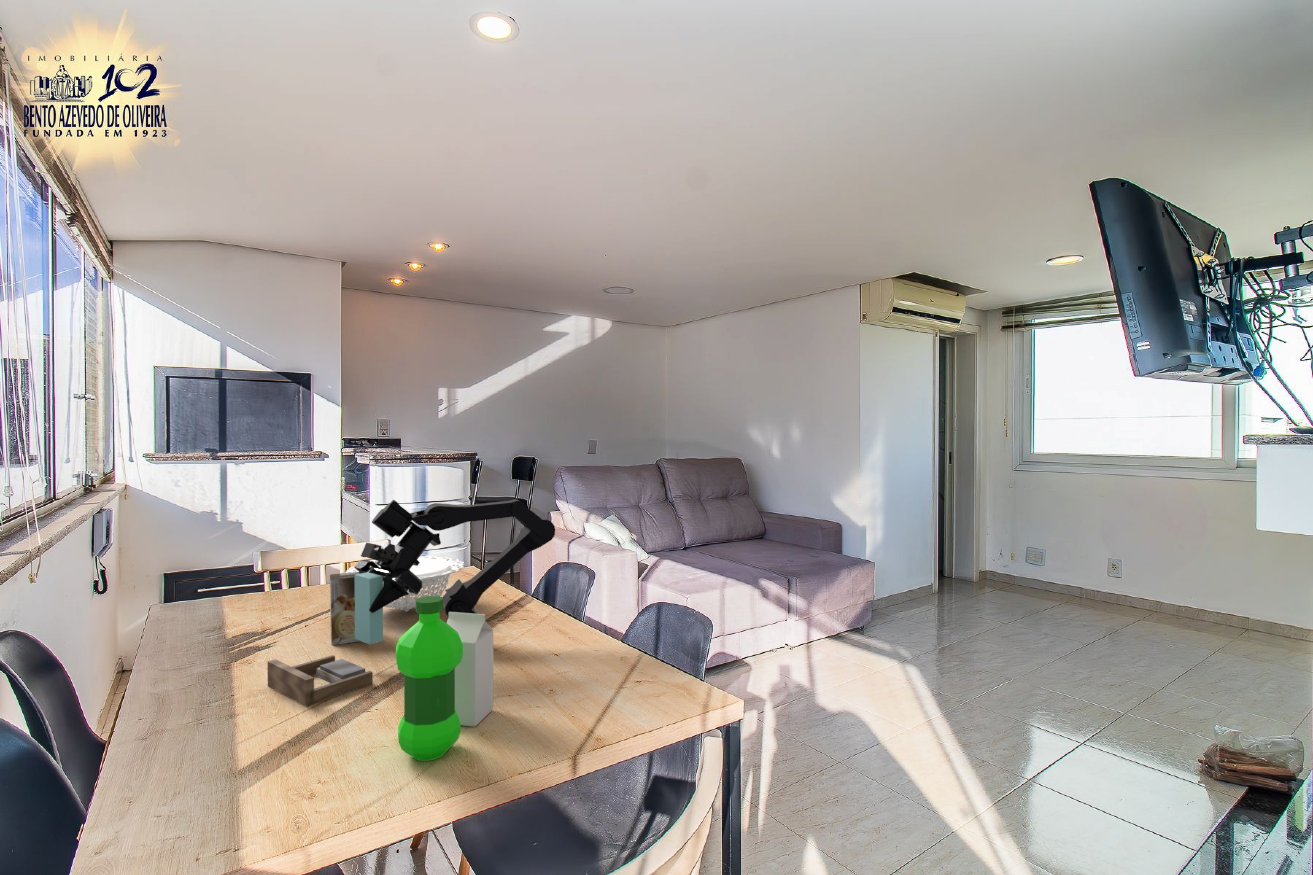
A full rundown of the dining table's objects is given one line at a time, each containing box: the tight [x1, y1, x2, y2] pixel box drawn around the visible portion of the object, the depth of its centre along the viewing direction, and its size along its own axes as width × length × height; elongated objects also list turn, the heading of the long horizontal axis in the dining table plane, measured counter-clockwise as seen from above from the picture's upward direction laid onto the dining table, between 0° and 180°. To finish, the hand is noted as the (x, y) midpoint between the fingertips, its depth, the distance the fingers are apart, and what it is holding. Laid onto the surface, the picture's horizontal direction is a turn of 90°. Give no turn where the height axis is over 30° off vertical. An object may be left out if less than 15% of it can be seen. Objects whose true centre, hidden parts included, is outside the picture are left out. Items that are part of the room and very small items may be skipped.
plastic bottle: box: [395, 595, 463, 762], centre depth 105 cm, size 10×10×25 cm
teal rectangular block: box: [355, 572, 384, 645], centre depth 140 cm, size 6×3×14 cm, turn 54°
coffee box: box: [329, 572, 360, 646], centre depth 160 cm, size 9×6×16 cm
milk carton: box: [446, 612, 494, 727], centre depth 118 cm, size 7×7×19 cm
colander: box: [345, 555, 466, 613], centre depth 183 cm, size 32×32×13 cm
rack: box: [267, 654, 374, 707], centre depth 132 cm, size 16×13×5 cm
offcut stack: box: [315, 658, 366, 684], centre depth 135 cm, size 11×5×2 cm, turn 54°
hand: (362, 609), depth 139 cm, fingers closed on teal rectangular block, 6 cm apart
